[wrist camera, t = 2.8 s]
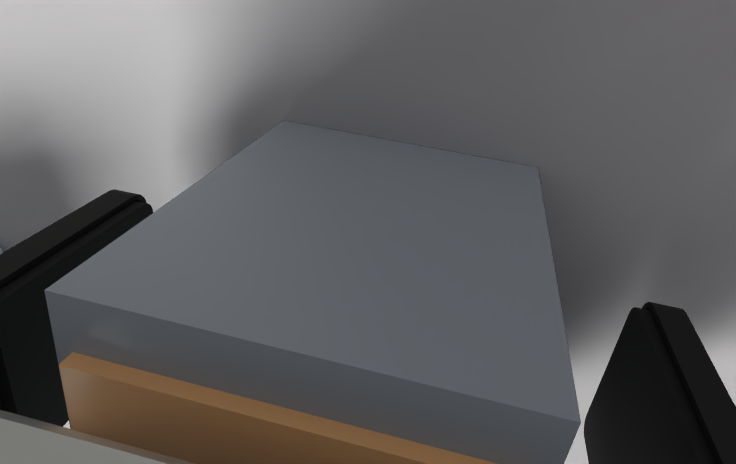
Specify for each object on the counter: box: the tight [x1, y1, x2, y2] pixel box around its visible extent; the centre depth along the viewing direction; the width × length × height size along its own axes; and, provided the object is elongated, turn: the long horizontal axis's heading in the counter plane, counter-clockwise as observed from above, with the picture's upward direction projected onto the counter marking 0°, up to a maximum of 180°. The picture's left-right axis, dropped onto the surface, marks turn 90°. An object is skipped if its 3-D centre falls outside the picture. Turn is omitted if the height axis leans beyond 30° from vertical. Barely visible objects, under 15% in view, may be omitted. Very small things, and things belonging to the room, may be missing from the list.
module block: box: [44, 121, 581, 464], centre depth 9 cm, size 5×6×7 cm
